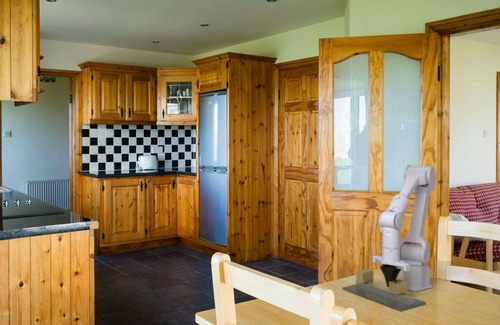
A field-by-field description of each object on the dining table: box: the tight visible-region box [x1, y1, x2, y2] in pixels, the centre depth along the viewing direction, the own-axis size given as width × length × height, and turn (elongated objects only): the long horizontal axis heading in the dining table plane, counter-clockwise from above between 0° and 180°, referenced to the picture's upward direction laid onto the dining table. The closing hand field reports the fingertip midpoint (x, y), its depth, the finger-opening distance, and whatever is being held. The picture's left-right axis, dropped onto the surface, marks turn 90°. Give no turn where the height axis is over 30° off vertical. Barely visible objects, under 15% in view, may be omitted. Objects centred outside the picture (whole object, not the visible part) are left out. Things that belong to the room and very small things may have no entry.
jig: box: [342, 268, 426, 312], centre depth 163 cm, size 12×26×7 cm, turn 32°
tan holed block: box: [388, 278, 408, 295], centre depth 158 cm, size 6×3×6 cm, turn 122°
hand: (390, 287), depth 161 cm, fingers closed
